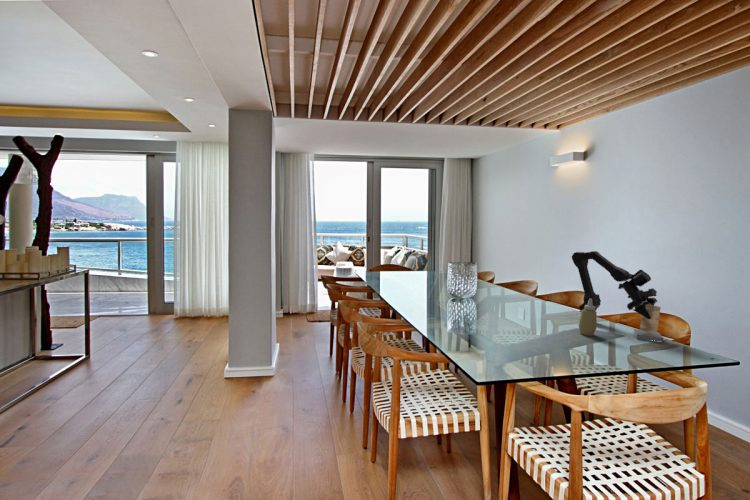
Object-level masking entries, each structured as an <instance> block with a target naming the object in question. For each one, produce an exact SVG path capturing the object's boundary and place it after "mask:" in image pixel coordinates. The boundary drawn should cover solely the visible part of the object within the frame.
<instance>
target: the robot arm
mask: <svg viewBox="0 0 750 500" xmlns="http://www.w3.org/2000/svg"><path fill="white" fill-rule="evenodd" d="M571 260H572V262H573V264H574V266H575V267H576V268H577V270H578V274H579V278H580V281H581V284H582V289H583V292H584V294H583V299H582V300H583V303H581V304H580V305H579V306H578V308H579V310H580V311H581V312H580V314H581V313H582V310H583V309H585V305H587V304H588V301H589V299H592V302H593V306H595V310H594V311H596V312H597V309H599V307H600V306H601V302H602V300H601V297H600V294H596V292H595V291H594V286H593V282H592V280H591V275H590V271H589V268H588V264H589V260H593V261H595V262H596V263H597V264H598V265H599V266H600V267H602V268H603V269H605V270H606V271H608V273H609V275H610V277H612V278H613V280H614V281H615V282H619V283H618V288H617V289H619V290H624V291H625V292H626V294H627V295H628V296H627V298H628V299H631V301H630V302H629V303H627V305H626V308H627V309H628V310H629V311H633V312H635V313H637V314H639V315H641V316H642V315H643V316H644V317H646V318H647V319H651V317H650V315H649V313H648V312H647V310H646V308H645V307H646V305H648V304H649V305H654V306H655V305H656V303H658V300H657V298H656V297H657V296H658V295H657V293H658V291H657V290H656V289H655V288H653V287H652V288H648V290H645V291H644V290H642V289H640V288H641V287H642V286H644V285H645V284H647V283H649V282H651V280H652V278H651V276H650V275H649V274H648V273H647V272H646V271H644V270H643V269H639V270H638V271H637V272H635V273H634V274H632V273H630V272H629V271H628V270H626V269H624V268H622V267H619V266H617V265H615V264H613V263H612V262H611V261H610V260H608V259H607V258H606V257H604V256H603V255H602V254H601V253H600V252H598V251H597V250H596V251H595V250H594V251H593V250H591V251H587V252H584V251H582V252H581V251H575V252H574V253H572V255H571ZM620 282H623V283H620ZM639 287H640V288H639Z"/></svg>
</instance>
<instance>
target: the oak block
mask: <svg viewBox="0 0 750 500" xmlns="http://www.w3.org/2000/svg"><path fill="white" fill-rule="evenodd" d="M645 308H646V310H647V312H648V313H649V315H650V317H651V319H647V318H646V317H644V316H643V315H641V319H640V326H639V330H643V331H646V332H650V333H653V332H658V327H659V322H660V321H659V320H660V314H661V306H657V305H655V304H654V305H649V304H648V305H646V307H645Z"/></svg>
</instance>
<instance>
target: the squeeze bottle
mask: <svg viewBox="0 0 750 500" xmlns="http://www.w3.org/2000/svg"><path fill="white" fill-rule="evenodd" d="M594 310H595V306H593V302H592V299H589V301H588V304H587V305H585V309H583V310H582V313H581V312H580V318H579V322H578V330H579V334H581V335H583V336H587V337H588V336H594V334H595V332H596V331H597V310H596V311H594Z"/></svg>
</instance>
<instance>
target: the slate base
mask: <svg viewBox="0 0 750 500" xmlns="http://www.w3.org/2000/svg"><path fill="white" fill-rule="evenodd" d="M633 336H634V337H635V339H636V340H639V339H640V340H641V341H646V340H653V341H654V340H655V341H663V342H664V337H663V336H662V334H661V333H660V332H658V331H657V332H653V333H650V332H646V331H643V330H640V328H639V329H637V328H633ZM640 340H639V341H640Z"/></svg>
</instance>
